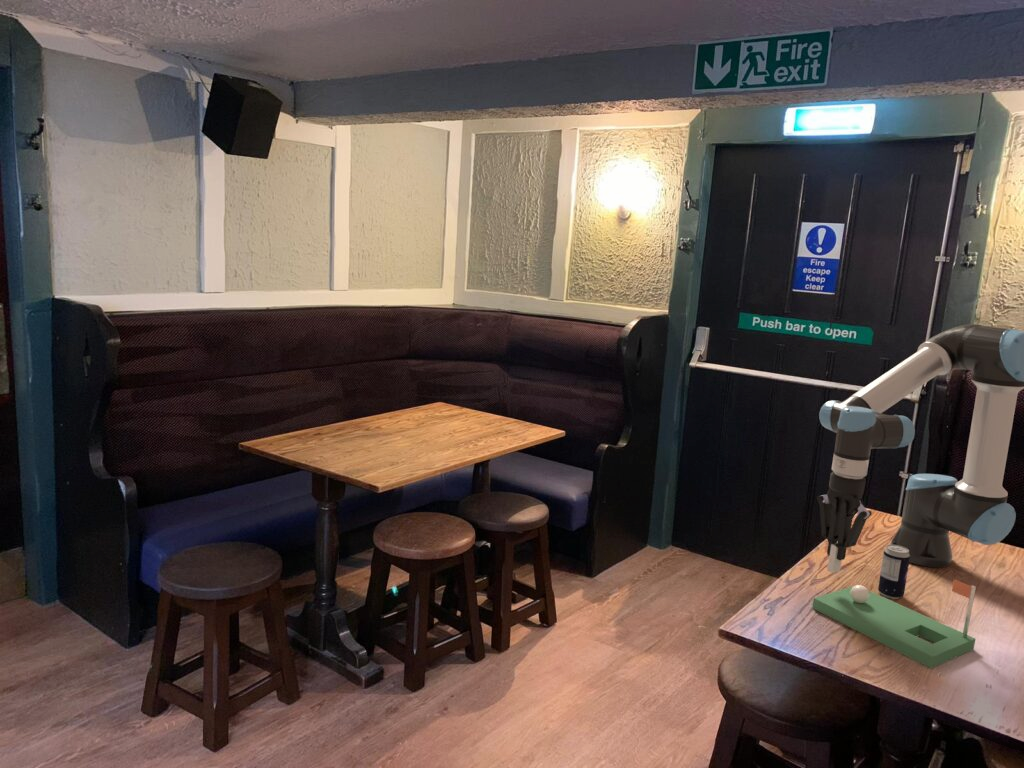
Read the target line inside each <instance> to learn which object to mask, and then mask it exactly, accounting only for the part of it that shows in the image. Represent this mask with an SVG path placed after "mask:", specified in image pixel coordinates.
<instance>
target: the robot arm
mask: <svg viewBox="0 0 1024 768" xmlns="http://www.w3.org/2000/svg"><path fill="white" fill-rule="evenodd" d="M954 370H955V371H956V370H966V371H970V372H971V373H972V374H971V382H972V383H973V384H974V385H975V386H976V393H975V394H976V395H975V401H974V406H973V407H974V408H973V412H972V419H971V425H970V430H969V431H970V432H969V437H968V443H967V450H966V457H965V463H964V470H963V475H962V479H960V480H959V481H958V479H957V477H953V476H951V475H946V474H938V473H936V474H935V473H916V474H913V475H911V476H909V478H908V480H907V485H906V487H905V492H904V493H905V495H904V502H903V509H902V515H901V521H900V525H899V527H898V529H897V531H896V533H895V534H894V536H893V537H892V539H891V542H890V545H899V546H902V547H905V548H907V549H908V550H909V554H910V560H909V564H914V565H918V566H922V567H927V568H945V567H949V566H950V565H952V559H953V552H952V546H951V542H950V536H949V535H950V532H951V533H953V534H956V535H958V536H961V537H963V538H965V539H968V540H969V541H971V542H974V543H975V542H976V543H979V544H982V545H985V546H993V545H995V544H996V545H997V544H999V543H1000V542H1001V541H1002V540H1004V539H1005V538H1006V537H1007V536H1008V535H1009V533H1010V532H1011V531H1012V529H1013V527H1014V525H1015V523H1016V517H1017V516H1016V515H1017V513H1016V510H1015V508H1014V507H1013V506H1012V505H1011V504H1010V503H1007V502H1008V501H1007V500H1008V493H1009V492H1008V491H1007V490H1006V489H1005V488H1004V487H1003V481H1004V475H1005V471H1006V470H1005V469H1006V463H1007V459H1008V452H1009V447H1010V441H1011V435H1012V430H1013V423H1014V417H1015V416H1014V415H1015V412H1016V411H1015V410H1016V406H1017V400H1018V395H1019V393H1020V392H1021V391H1022V390H1023V389H1024V331H1023V330H1018V329H1014V328H1007V327H1006V328H1004V327H997V326H988V325H987V326H986V325H981V324H974V323H973V324H972V323H971V324H970V323H969V324H963V325H959V326H955V327H952V328H949V329H947V330H944V331H942V332H940V333H938V334H936V335H934V336H932V337H930V338H929V339H927V340H925V341H924V342H923V343H921V344H920V345H919V346H918V348H917V351H916V352H915V353H913V354H911V355H910V356H909V357H907V358H905V359H904V360H902V361H901V362H900V363H898V364H897V365H895V366H894V367H893V368H891V369H889V370H888V371H886V372H885V373H883V374H882V375H880V376H879V377H878V378H876V379H874V380H873V381H871V382H870V383H869V384H867V385H865V386H864V387H863V388H860V389H858V391H856V392H855V393H853V394H852V395H850V396H849V397H848V398H846V399H845V400H843V401H840V400H833V399H831V400H828V401H826V402H825V403H823V405H822V406H821V407H820V410H819V415H818V417H819V418H818V419H819V422H820V424H821V426H822V427H824V428H825V429H827V430H829V431H831V432H833V433H835V435H836V436H835V444H834V451H833V457H832V464H831V471H832V472H830V476H829V483H828V487H829V489H828V491H827V492H826V493H827V494H822V495H818V496H816V501H818V504H819V515H820V516H819V517H820V531H821V537H822V538H823V539H825V540H826V541H827V542H828V545H827V552H826V555H827V556H828V564H827V571H828V572H830V573H832V574H835V573H838V572H840V571H841V566H842V561H843V560H845V559H846V553H847V548H851V547H855V546H856V545H857V543H858V540H859V538H860V536H861V533H862V530H863V528H864V526H865V524H866V521H868V519H869V518H870V517H871V516H872V513H873V512H872V511H871V510H870V509H869V510H867V508H866V507H865V505H864V501H863V495H864V492H865V488H866V484H867V483H866V481H867V479H866V478H865V477H867V475H868V472H869V471H868V468H869V463H870V457H871V451H872V450H873V449H874V450H875V449H898V448H905V447H907V446H909V445H910V444H911V443H912V442H913V440H914V439H915V434H916V429H915V428H916V427H915V425H914V423H913V421H912V420H911V419H910V418H909V417H907V416H905V415H898V414H893V415H890V414H884V412H886V411H887V410H888V409H889V408H891V407H893V406H894V405H896V404H897V403H899V401H901V400H903V399H904V398H905V397H907V396H908V395H910V394H912V393H913V392H914V391H916V390H918V389H919V388H920V387H922V386H923V385H925V384H927V383H928V382H929V381H930V380H932V379H934V378H935V377H937V376H945V375H947V374H948V373H950V372H951V371H954ZM855 513H856V515H857V516H855ZM854 518H855V519H854ZM853 520H854V521H853Z"/></svg>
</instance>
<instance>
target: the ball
mask: <svg viewBox="0 0 1024 768" xmlns="http://www.w3.org/2000/svg"><path fill="white" fill-rule="evenodd" d="M855 585H856V586H855ZM855 585H853V586H854V587H853V588H852V589H851V591H850V595H851V598H852V599H853V600H854V601H855V602H857V603H864V602H866V601H867V600H868V599H869V591H870V590H869V589H868V588H867V587H866V586H865V585H861V584H855ZM868 590H869V591H868Z"/></svg>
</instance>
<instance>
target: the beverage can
mask: <svg viewBox="0 0 1024 768" xmlns="http://www.w3.org/2000/svg"><path fill="white" fill-rule="evenodd" d="M909 560H910V554H909V550H908V549H907V548H905V547H902V546H899V545H891V544H887V545H886V547H885V549H884V550H883V554H882V561H881V567H880V574H879V579H878V580H879V581H878V586H877V590H878V592H879V593H880V594H881V596H882V597H884V598H887V599H890V600H891V599H892V600H899V599H900V598H901V597H902V598H903V597H904V595H905V589H906V584H907V577H908V573H909V566H910V562H909Z"/></svg>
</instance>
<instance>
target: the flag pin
mask: <svg viewBox="0 0 1024 768" xmlns="http://www.w3.org/2000/svg"><path fill="white" fill-rule="evenodd" d="M951 587H952V589H951V591H952V592H953V593H954V594H957V595H959V596H963V597H965V598H967V599H968V603H967V609H966V615H965V620H964V626H963V631H962V633H963V636H962V637H964V638H967V635H968V632H969V626H970V621H971V618H972V617H971V616H972V611H973V604H974V600H975V595H976V594H975V593H976V588H977V586H975V585H970V584H968V583H965V582H963V581H960V580H958V579H953V581H952V586H951Z"/></svg>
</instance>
